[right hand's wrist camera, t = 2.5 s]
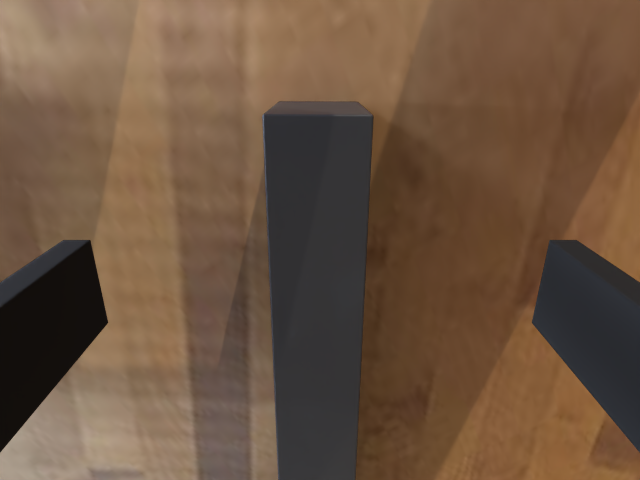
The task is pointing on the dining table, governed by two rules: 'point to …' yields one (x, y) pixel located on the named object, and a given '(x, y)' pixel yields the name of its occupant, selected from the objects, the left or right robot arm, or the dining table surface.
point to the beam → (317, 280)
